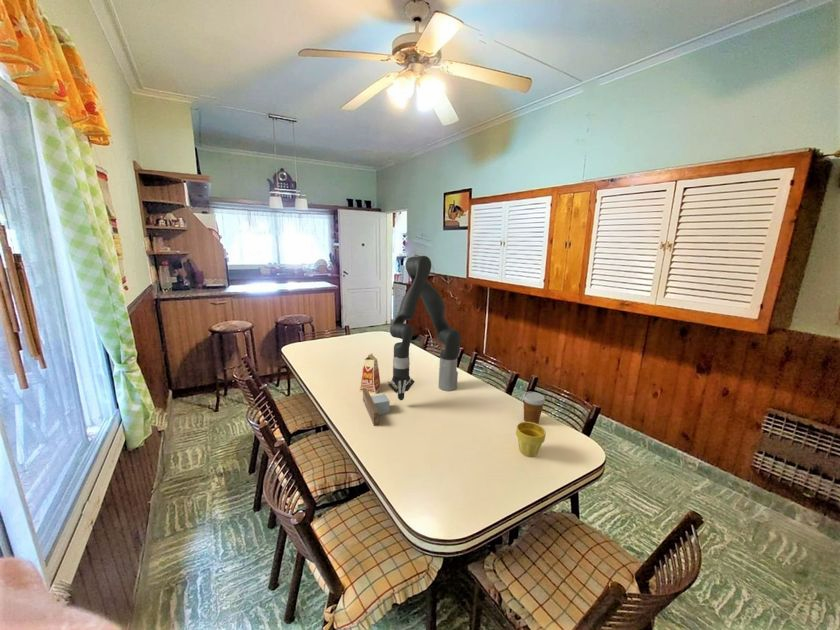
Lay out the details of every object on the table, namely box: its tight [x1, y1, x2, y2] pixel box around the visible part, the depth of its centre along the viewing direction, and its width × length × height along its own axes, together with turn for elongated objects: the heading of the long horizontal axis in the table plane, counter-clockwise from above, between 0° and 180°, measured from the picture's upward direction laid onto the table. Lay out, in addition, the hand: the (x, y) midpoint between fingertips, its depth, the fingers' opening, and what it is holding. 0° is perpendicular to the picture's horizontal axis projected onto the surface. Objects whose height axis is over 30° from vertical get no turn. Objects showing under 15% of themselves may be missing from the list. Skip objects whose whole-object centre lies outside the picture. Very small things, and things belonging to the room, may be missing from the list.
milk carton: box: [358, 352, 381, 395], centre depth 169 cm, size 9×9×20 cm
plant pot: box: [515, 421, 547, 458], centre depth 123 cm, size 10×10×10 cm
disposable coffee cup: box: [522, 391, 546, 425], centre depth 144 cm, size 10×10×12 cm
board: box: [362, 388, 379, 427], centre depth 148 cm, size 2×24×6 cm, turn 21°
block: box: [370, 393, 390, 416], centre depth 150 cm, size 7×7×6 cm
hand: (400, 399), depth 153 cm, fingers closed
